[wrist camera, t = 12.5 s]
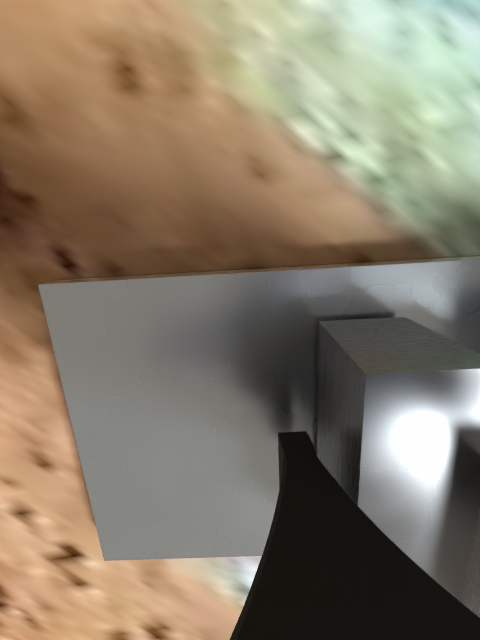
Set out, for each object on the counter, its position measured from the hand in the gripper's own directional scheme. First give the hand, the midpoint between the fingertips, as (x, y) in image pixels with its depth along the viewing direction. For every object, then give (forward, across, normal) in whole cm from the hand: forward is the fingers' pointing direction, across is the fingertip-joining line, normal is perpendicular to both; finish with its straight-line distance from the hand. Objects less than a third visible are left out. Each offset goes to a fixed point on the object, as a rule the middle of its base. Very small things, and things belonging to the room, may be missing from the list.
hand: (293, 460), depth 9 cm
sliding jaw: (+1, -2, 0) cm, 2 cm away
